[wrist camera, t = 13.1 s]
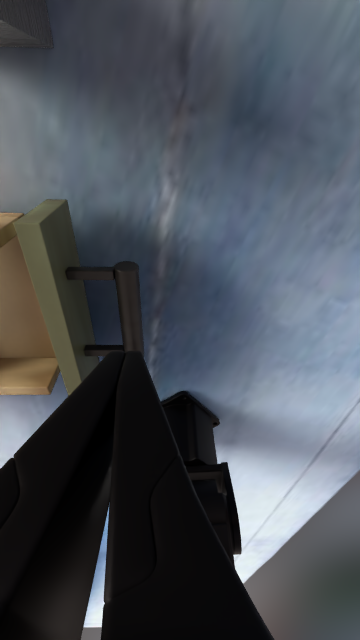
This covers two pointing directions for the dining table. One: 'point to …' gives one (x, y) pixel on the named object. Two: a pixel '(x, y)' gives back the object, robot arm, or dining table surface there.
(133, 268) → the drawer
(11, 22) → the metal box
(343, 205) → the dining table surface
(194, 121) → the dining table surface
